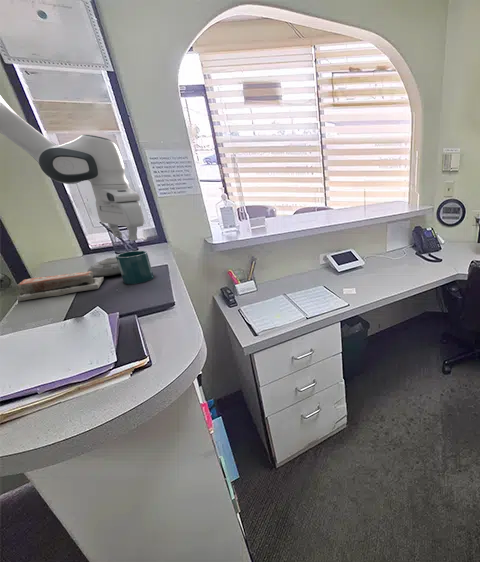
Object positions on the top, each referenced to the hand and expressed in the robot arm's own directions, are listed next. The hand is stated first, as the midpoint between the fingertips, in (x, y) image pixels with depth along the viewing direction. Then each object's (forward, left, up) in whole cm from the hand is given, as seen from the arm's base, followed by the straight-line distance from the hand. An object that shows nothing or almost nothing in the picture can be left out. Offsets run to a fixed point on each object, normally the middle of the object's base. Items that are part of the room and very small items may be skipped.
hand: (125, 238), depth 99 cm
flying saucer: (0, +16, -14) cm, 21 cm away
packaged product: (-16, +10, -14) cm, 23 cm away
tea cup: (0, 0, -14) cm, 14 cm away
